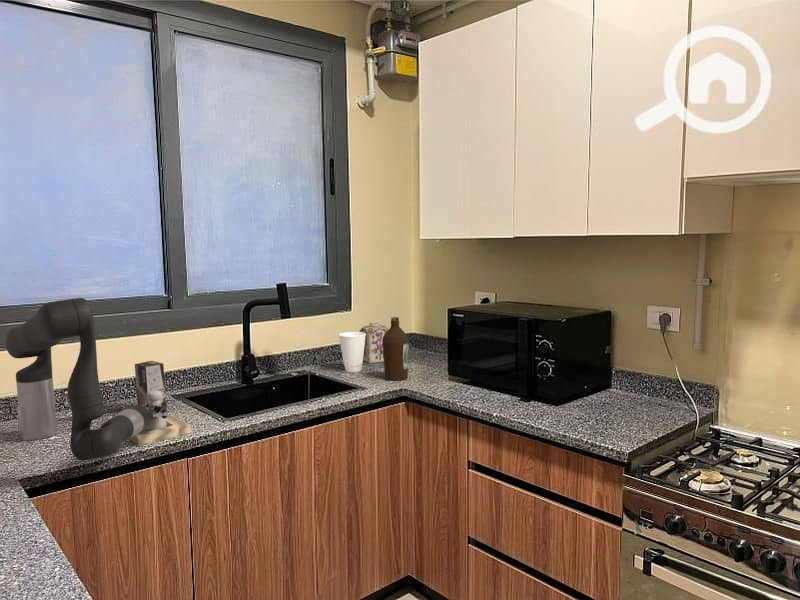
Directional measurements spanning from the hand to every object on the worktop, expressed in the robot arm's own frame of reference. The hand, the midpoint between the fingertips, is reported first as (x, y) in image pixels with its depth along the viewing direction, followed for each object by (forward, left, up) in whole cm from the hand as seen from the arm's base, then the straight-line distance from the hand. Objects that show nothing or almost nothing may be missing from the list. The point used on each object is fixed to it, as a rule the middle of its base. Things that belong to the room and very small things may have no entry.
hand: (159, 404), depth 175 cm
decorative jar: (+110, +30, -8) cm, 114 cm away
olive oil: (+93, -4, -8) cm, 93 cm away
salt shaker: (-2, -2, -8) cm, 9 cm away
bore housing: (-2, -2, -8) cm, 9 cm away
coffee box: (+6, +25, -8) cm, 27 cm away
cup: (+90, +21, -8) cm, 93 cm away
